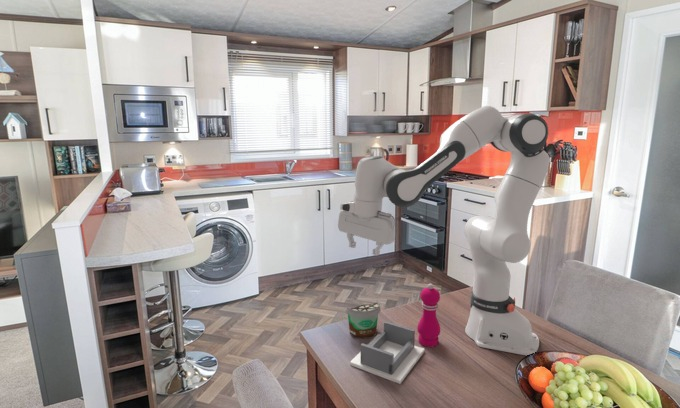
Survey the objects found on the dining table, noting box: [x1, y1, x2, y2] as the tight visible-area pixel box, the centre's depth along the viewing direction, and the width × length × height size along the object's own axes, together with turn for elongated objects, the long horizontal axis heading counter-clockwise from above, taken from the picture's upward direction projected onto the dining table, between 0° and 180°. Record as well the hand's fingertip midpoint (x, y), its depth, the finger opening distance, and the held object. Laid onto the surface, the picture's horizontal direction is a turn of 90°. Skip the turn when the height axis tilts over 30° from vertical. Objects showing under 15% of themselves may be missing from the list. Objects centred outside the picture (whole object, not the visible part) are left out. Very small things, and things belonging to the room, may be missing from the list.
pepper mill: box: [417, 283, 441, 348], centre depth 125 cm, size 7×7×20 cm
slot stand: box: [349, 321, 425, 385], centre depth 117 cm, size 16×18×7 cm
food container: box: [345, 300, 381, 339], centre depth 130 cm, size 12×6×10 cm, turn 114°
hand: (363, 250), depth 124 cm, fingers open, 8 cm apart
